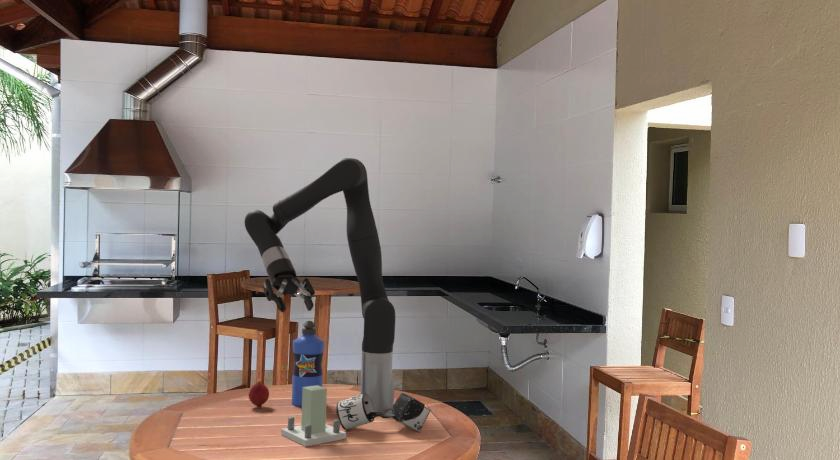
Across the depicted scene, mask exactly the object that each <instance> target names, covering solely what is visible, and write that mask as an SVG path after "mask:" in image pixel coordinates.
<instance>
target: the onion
mask: <svg viewBox="0 0 840 460" xmlns="http://www.w3.org/2000/svg"><path fill="white" fill-rule="evenodd" d="M269 397H270V391H269V388H268V387H267V386H266V384H264V383H263V381H262V380H261V379H259V380H257V382H256V383H254V385H252V387H250V389H249V392H248V399H249V401H250V402H251V403H252V404H253V405H254V406H256V407H257V408H261V407H262V406H263V405H265V403H266V402H268V400H269Z"/></svg>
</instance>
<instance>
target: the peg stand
mask: <svg viewBox="0 0 840 460" xmlns="http://www.w3.org/2000/svg"><path fill="white" fill-rule="evenodd" d="M332 422H333V423H332V424H333V425H329V424H327V423H326V430H325V432H319V433H314V434H311V427H312V425H305V431H303V430H301V424H300V425H295V417H293V416H289V417H288V418H287V427H284V428H281V431H280V432H281V433H280V434H281V436H283V437H285V438H287V439H289V440H291V441H293V442H295V443H297V444H299V445H302V446H304V447H310V446H314V445H319V444H324V443H330V442H336V441H340V440H346V439H347V432H345V431H343V430H340V426H341V424H340V420H339V419H333V421H332Z"/></svg>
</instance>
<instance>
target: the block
mask: <svg viewBox="0 0 840 460" xmlns="http://www.w3.org/2000/svg"><path fill="white" fill-rule="evenodd" d="M327 391H328V389H327V388H326V387H323V386H322V387H321V386H318V385H316V386H309V387H303V389H302V407H301V421H300V423H301V424H300V425H301V430H303V431H305V425H312V427H311V434H314V433H319V432H325V430H326V424H327V421H326V420H327V398H328V397H327V395H328V394H327V393H328V392H327Z"/></svg>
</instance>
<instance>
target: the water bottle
mask: <svg viewBox="0 0 840 460" xmlns="http://www.w3.org/2000/svg"><path fill="white" fill-rule="evenodd" d="M302 326H303V327H302V328H301V334H302V335H301V336H299V337H298V338H295V339H294V340H293V341H292V352H293V364H294V367H293V372H292V382H291V383H292V385H291V405H292V406H293V405H294V407H296V406H297V407H298V408H302V389H303V387H309V386H316V385H318V386H321V387H323V381H324V380H323V378H324V377H323V367H322V366H323V365H322V363H323V358H324V357H323V356H324V352H325V340H323V339H322V338H320V337H318V336H317V335H316V334H317V328H315V327H316V324H315V323H314V321H312V320H306V321H305V322H304V323H303V324H302Z"/></svg>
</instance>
